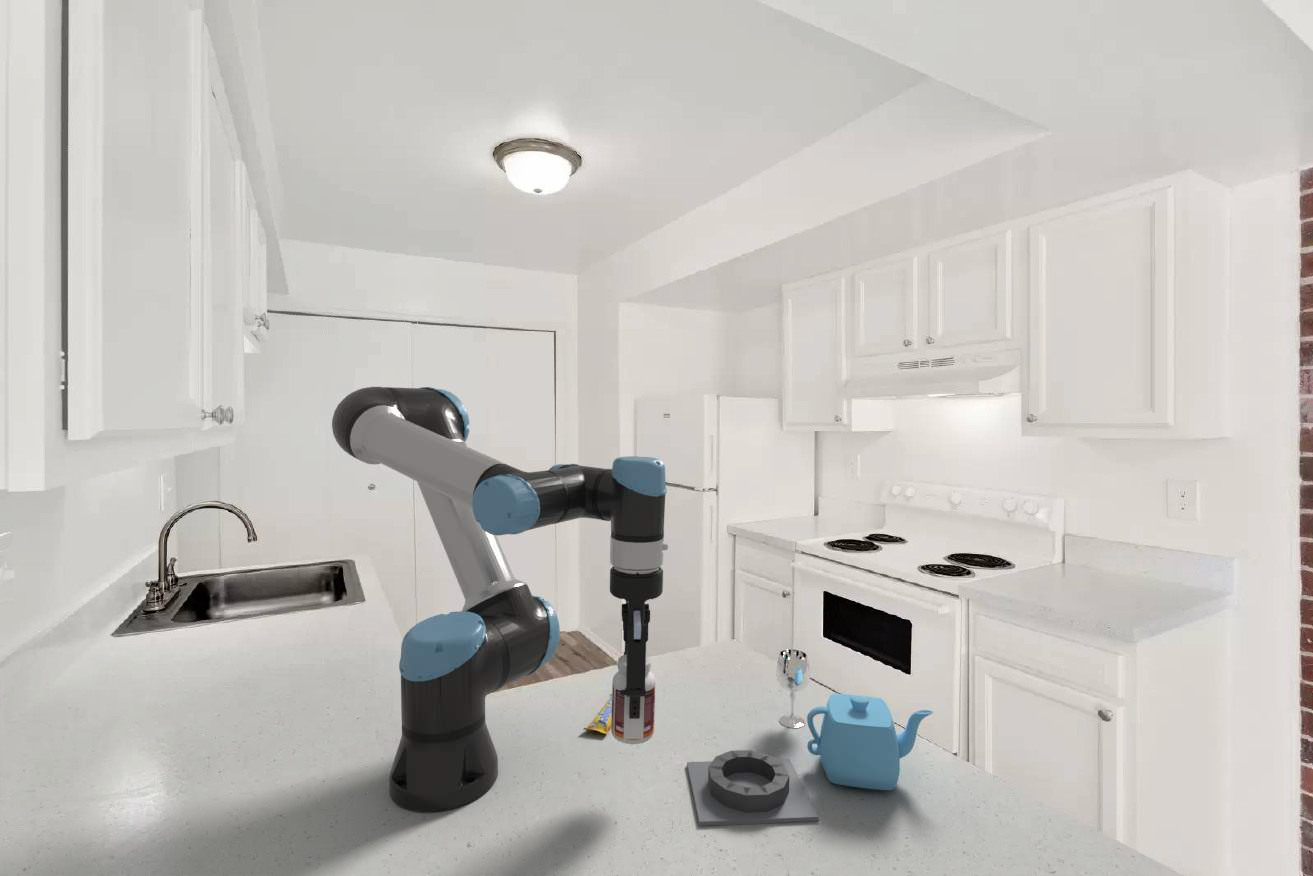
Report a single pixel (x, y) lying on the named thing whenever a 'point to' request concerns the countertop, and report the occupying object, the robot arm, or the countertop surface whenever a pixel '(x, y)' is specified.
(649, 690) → the pill bottle
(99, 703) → the countertop surface
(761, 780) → the grey ring base plate
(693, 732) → the countertop surface
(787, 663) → the wineglass
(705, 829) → the countertop surface
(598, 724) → the candy bar
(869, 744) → the teapot
